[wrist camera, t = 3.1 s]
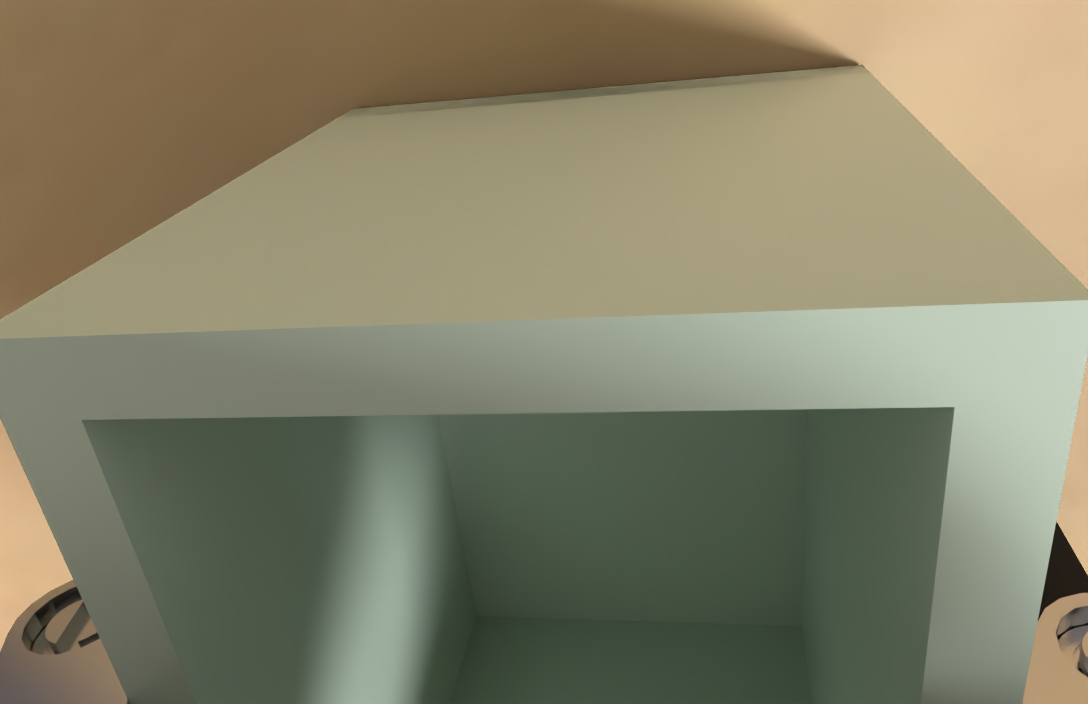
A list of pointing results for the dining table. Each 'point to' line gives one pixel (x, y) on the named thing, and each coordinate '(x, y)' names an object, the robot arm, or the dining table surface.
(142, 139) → the dining table surface
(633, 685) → the small crate
